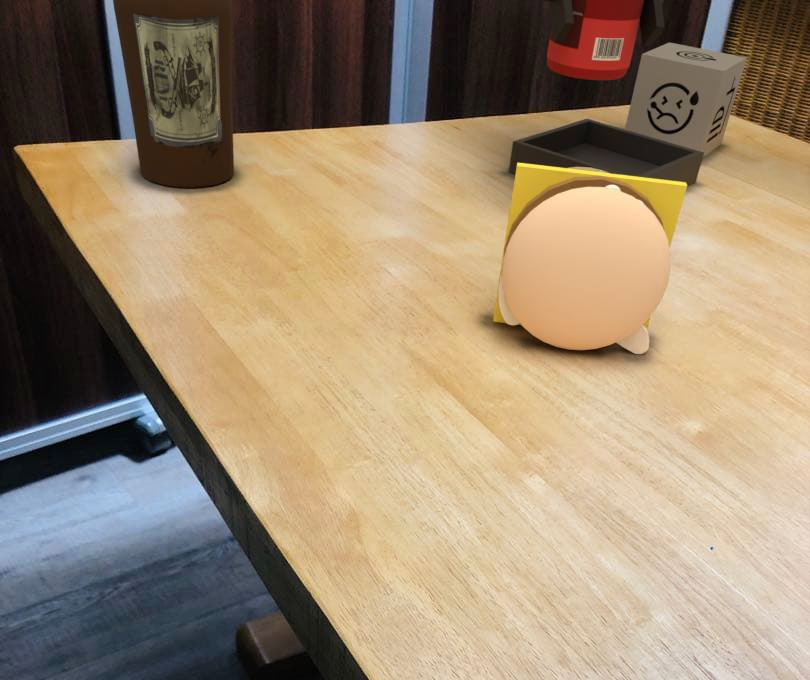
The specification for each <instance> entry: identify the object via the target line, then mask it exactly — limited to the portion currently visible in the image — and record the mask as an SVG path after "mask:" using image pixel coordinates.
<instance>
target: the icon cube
mask: <svg viewBox="0 0 810 680" xmlns="http://www.w3.org/2000/svg"><path fill="white" fill-rule="evenodd" d="M747 58H748V57H745V56H740V55H735V54H731V53H725V52H720V51H715V50H710V49H706V48H705V49H703V48H700V47H694V46H690V45H689V46H688V45H685V44H679V43H674V42H667V43H664V44H663V45H660V46H658V47H656V48H653V49H651V50H647V51H646V52H644V53H642V54H641V57H640V61H639V65H638V70H637V75H636V79H635V82H634V88H633V92H632V97H631V101H630V105H629V109H628V115H627V118H626V123H625V126H624V129H625V130H628V131H632V132H635V133H638V134H642V135H645V136H649V137H652V138H656V139H659V140H662V141H666V142H669V143H673V144H676V145H680V146H683V147H687V148H690V149H693V150H697V151H701V152H704V155H703V158H704V157H707V155H708V154H710V153H711V152H713V151H714V150H715V149H716V148H718V147H719V146H720V145H722V143H723V140H724V136H725V133H726V131H727V127H728V123H729V119H730V116H731V113H732V109H733V107H734V103H735V100H736V96H737V94H738V89H739V86H740V83H741V79H742V76H743V73H744V70H745V67H746V63H747V60H748V59H747Z"/></svg>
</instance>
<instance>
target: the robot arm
mask: <svg viewBox="0 0 810 680" xmlns="http://www.w3.org/2000/svg"><path fill="white" fill-rule="evenodd" d="M541 2H548V3H549V10H550V20H551V28H552V29H553V37H554V43H563V41H564V39H565V38H566V36H567V34H568V33H569V31H570V30H571V28H572V26H573V25H574V18H573V10H572V2H571V0H541ZM663 2H664V0H644V3H643V8H642V12H641V17H640V21H639V30H640V38H641V46H642V47H646V48H647V47H651V46H653V44H654V42H655V41H656V40H657V38H658V37H659V35H661V33H662V31H664V29H665V28H666V26H665V19H664V18H665V17H664V11H663Z"/></svg>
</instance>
